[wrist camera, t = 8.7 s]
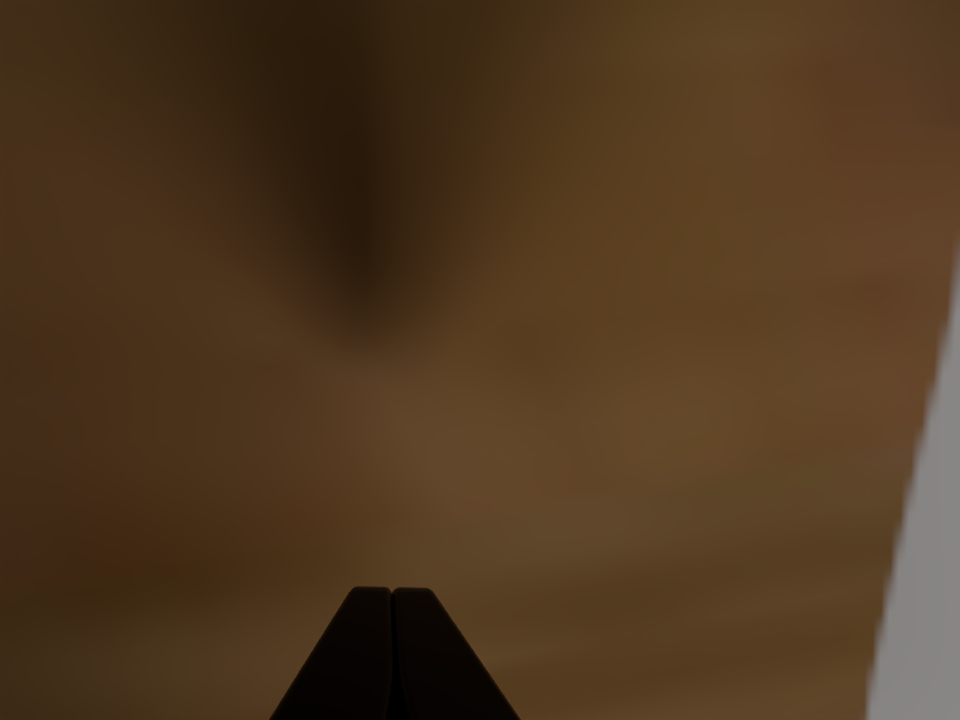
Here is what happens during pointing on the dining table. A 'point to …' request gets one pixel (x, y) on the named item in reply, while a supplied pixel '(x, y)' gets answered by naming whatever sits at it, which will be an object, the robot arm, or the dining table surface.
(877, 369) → the dining table surface
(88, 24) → the dining table surface
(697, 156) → the dining table surface
